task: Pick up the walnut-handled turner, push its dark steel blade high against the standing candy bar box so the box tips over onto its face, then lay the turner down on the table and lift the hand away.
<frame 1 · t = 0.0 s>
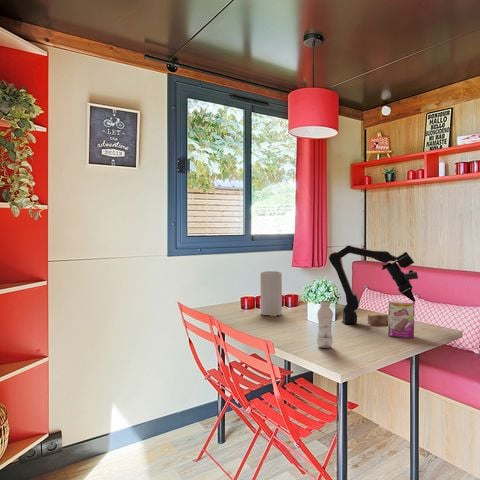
hand: (413, 299, 189), 15 cm above the table, tool tilted 35°, fingers open, 9 cm apart
candy bar box: (400, 336, 177), on the table
plastic bottle: (324, 347, 161), on the table
cylinder vase: (271, 314, 223), on the table
turner: (377, 324, 198), on the table
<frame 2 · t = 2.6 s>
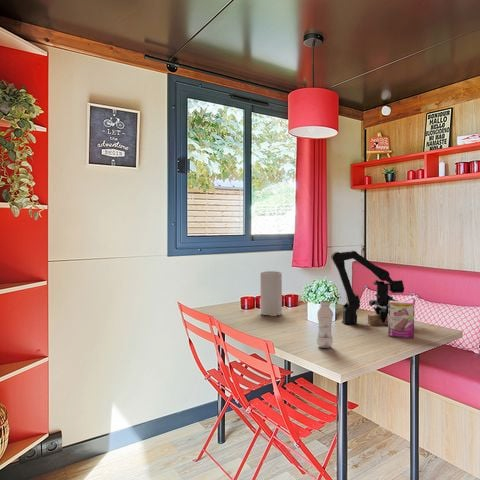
hand: (382, 322, 199), 1 cm above the table, tool pointing down, fingers closed on turner, 2 cm apart
turner: (377, 324, 198), on the table, touching gripper
everything else where it was.
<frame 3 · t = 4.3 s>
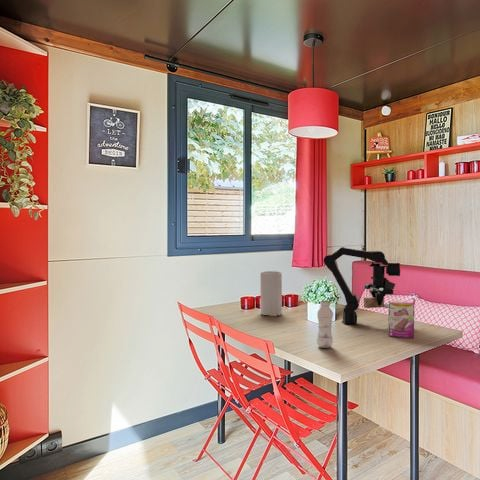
hand: (378, 305, 195), 11 cm above the table, tool pointing down, fingers closed on turner, 2 cm apart
turner: (373, 307, 195), point 10 cm above the table, touching gripper
everything else where it was.
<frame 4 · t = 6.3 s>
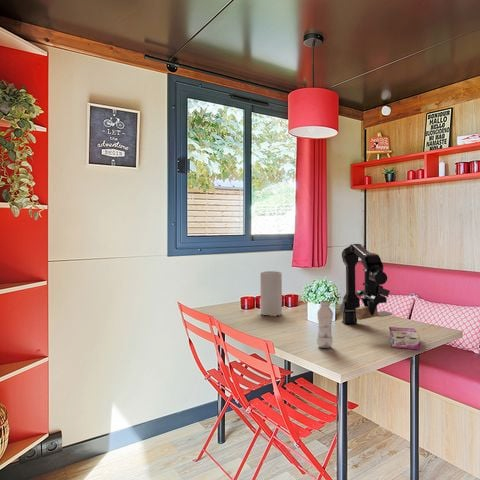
hand: (370, 314, 174), 11 cm above the table, tool pointing down, fingers closed on turner, 3 cm apart
candy bar box: (401, 332, 174), point 2 cm above the table
turner: (367, 317, 174), point 10 cm above the table, tilted 5°, touching gripper
everything else where it was.
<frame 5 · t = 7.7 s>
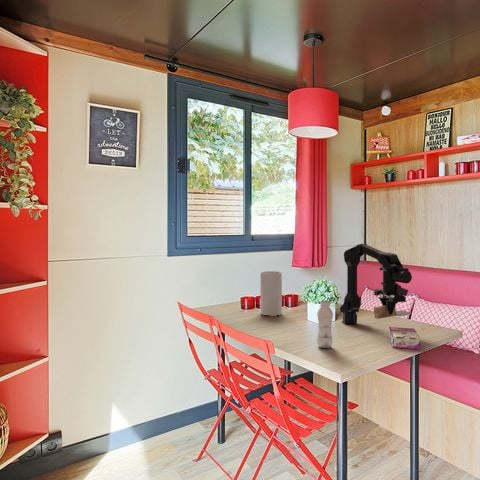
hand: (389, 313, 175), 11 cm above the table, tool pointing down, fingers closed on turner, 3 cm apart
turner: (385, 316, 175), point 10 cm above the table, tilted 5°, touching gripper
everything else where it was.
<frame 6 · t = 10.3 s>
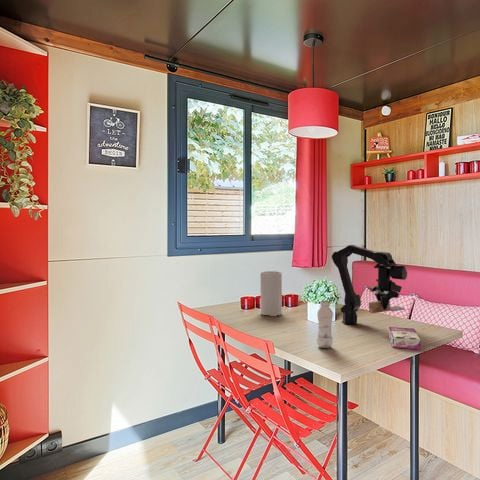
hand: (383, 308, 187), 11 cm above the table, tool pointing down, fingers closed on turner, 3 cm apart
turner: (379, 311, 186), point 10 cm above the table, touching gripper
everything else where it was.
when the fingers open (2 cm above the table, at t = 12.8 s): turner stays where it is, on the table.
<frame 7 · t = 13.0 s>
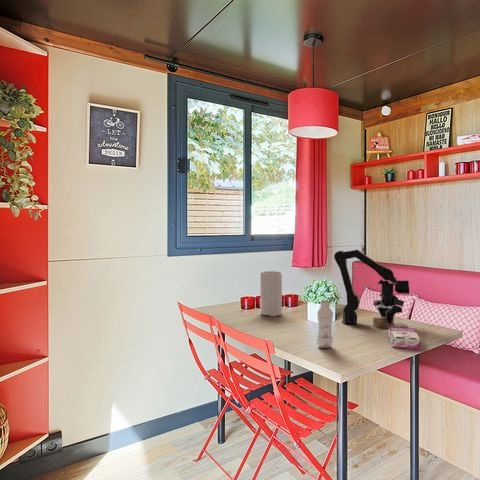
hand: (387, 322, 194), 2 cm above the table, tool pointing down, fingers open, 5 cm apart
turner: (383, 326, 193), on the table
everything else where it was.
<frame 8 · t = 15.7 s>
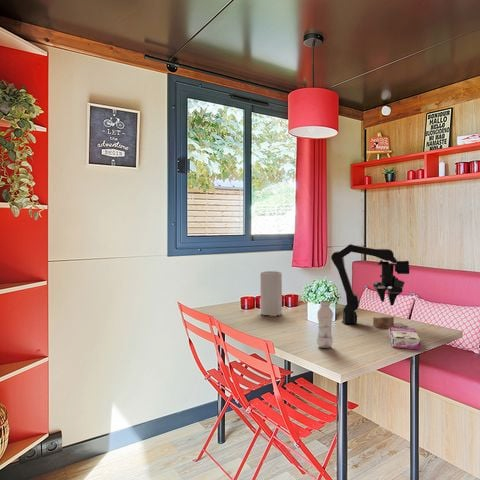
hand: (387, 303, 193), 12 cm above the table, tool pointing down, fingers open, 9 cm apart
nothing on the table moved.
at the end: candy bar box tilted 89°; turner inside the target area (0.4 cm from its centre), on the table; the gripper is holding nothing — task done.
